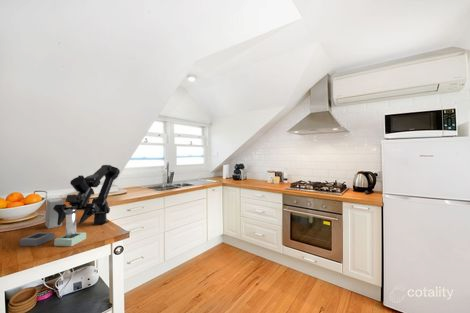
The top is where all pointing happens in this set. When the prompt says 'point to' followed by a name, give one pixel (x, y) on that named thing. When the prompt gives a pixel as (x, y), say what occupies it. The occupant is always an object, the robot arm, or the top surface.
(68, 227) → the steel peg
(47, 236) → the charcoal socket
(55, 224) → the skincare box
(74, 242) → the sage socket
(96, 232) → the top surface
